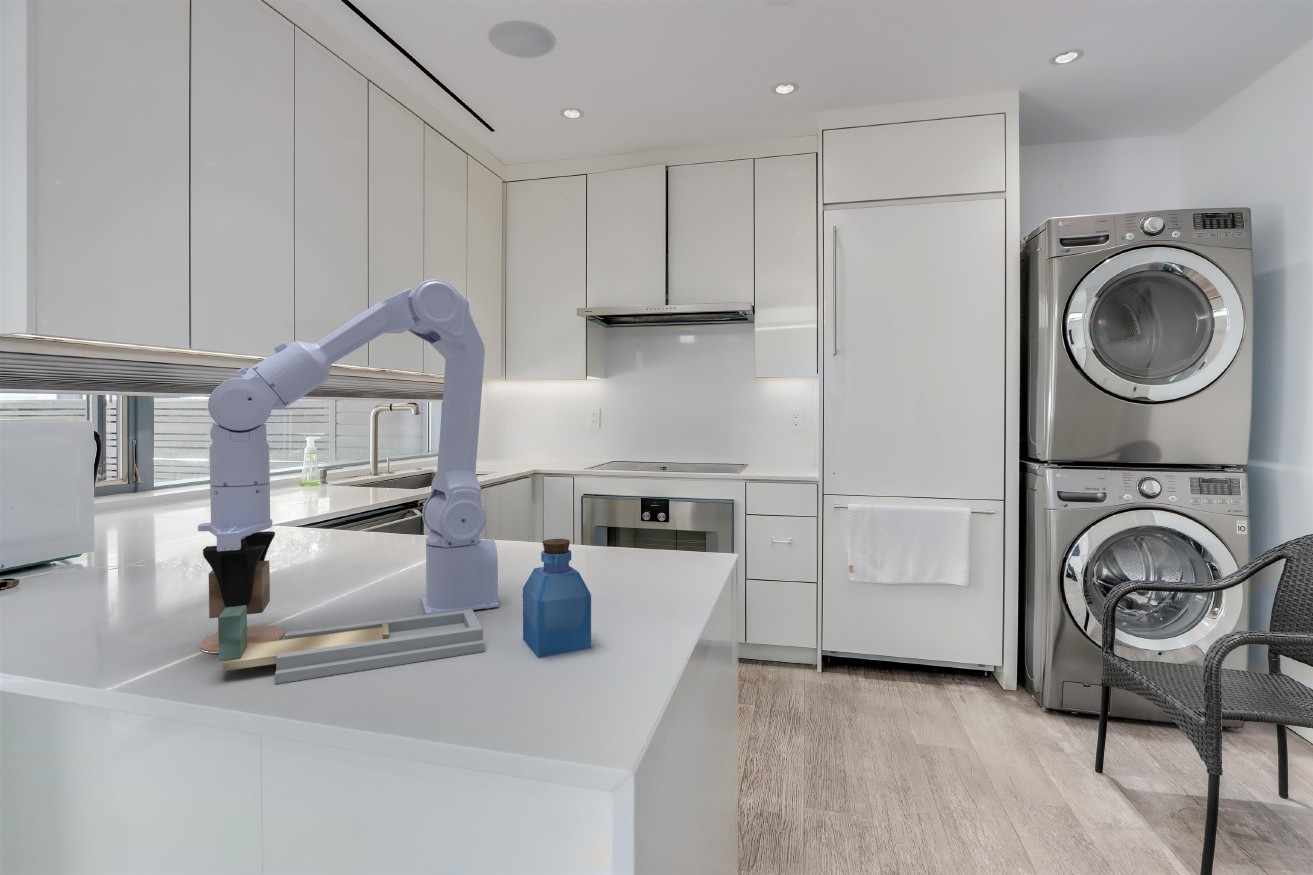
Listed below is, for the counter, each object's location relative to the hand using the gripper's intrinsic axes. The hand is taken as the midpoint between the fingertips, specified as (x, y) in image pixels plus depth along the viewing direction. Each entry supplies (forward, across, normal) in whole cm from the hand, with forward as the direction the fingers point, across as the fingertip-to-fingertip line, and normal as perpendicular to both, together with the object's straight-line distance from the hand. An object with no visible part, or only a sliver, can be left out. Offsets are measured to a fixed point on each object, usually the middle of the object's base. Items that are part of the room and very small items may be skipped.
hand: (242, 600), depth 71 cm
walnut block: (+1, 0, 0) cm, 1 cm away
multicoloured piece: (+4, +10, +8) cm, 13 cm away
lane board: (+5, +10, +15) cm, 19 cm away
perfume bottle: (+5, +16, +33) cm, 37 cm away
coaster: (+5, 0, 0) cm, 5 cm away
